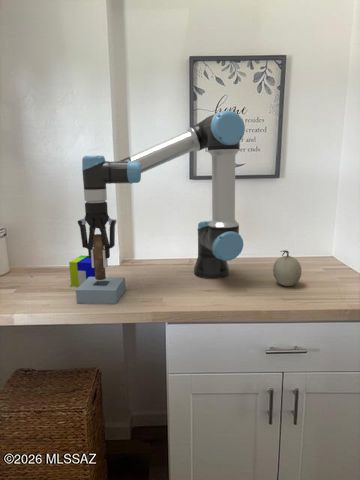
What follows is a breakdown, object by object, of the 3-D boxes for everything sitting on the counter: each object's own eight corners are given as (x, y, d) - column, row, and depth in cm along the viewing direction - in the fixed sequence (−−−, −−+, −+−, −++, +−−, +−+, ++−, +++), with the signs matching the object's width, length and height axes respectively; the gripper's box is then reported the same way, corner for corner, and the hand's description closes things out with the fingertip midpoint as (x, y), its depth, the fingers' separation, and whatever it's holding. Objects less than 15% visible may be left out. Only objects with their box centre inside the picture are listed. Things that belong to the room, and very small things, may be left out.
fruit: (294, 279, 143) (296, 243, 140) (304, 289, 132) (307, 250, 128) (268, 280, 143) (270, 244, 139) (277, 290, 132) (279, 251, 128)
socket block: (125, 289, 135) (125, 277, 133) (116, 304, 121) (115, 290, 120) (90, 289, 136) (89, 276, 135) (76, 303, 122) (75, 289, 121)
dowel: (106, 276, 128) (104, 234, 125) (104, 280, 125) (101, 236, 121) (97, 276, 129) (94, 234, 125) (94, 279, 125) (91, 236, 122)
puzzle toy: (94, 287, 138) (92, 263, 135) (71, 286, 140) (69, 262, 137) (104, 279, 147) (103, 256, 145) (82, 278, 149) (81, 255, 147)
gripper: (122, 200, 124) (125, 264, 129) (76, 200, 125) (81, 263, 130) (116, 202, 116) (120, 270, 122) (68, 202, 118) (73, 269, 123)
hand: (99, 266), depth 126 cm, fingers closed on dowel, 3 cm apart
